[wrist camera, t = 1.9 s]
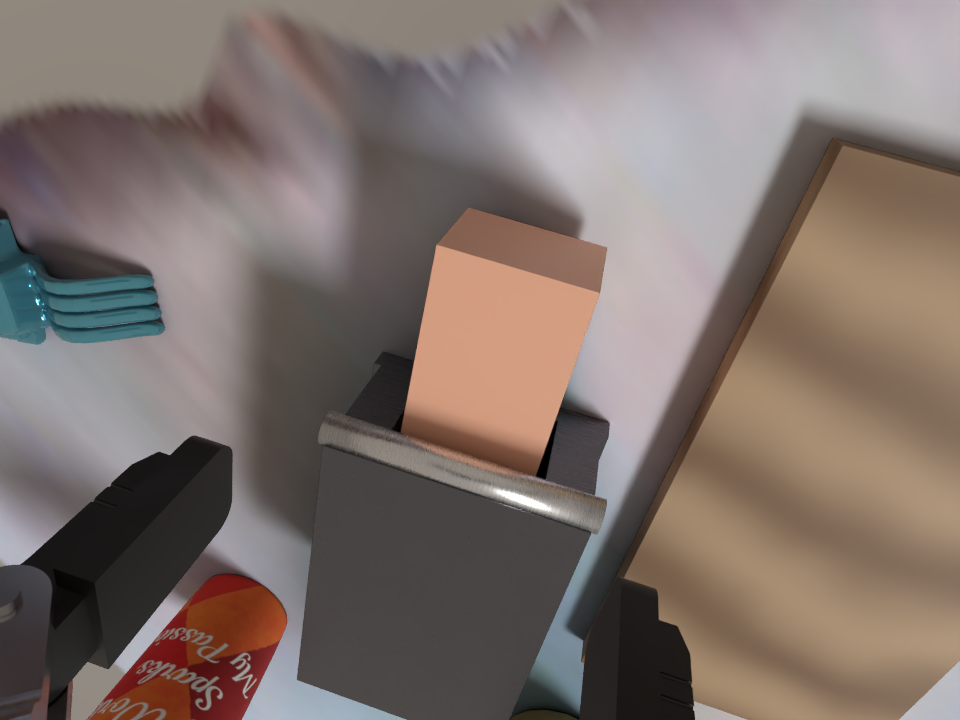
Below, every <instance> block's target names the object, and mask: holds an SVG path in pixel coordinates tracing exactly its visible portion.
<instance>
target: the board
mask: <svg viewBox="0 0 960 720" xmlns="http://www.w3.org/2000/svg"><path fill="white" fill-rule="evenodd" d="M618 576H619V577H622V578H625V579H628V580H631V581H634V582H637V583H640V584H643V585H646V586H649V587H652V588H655V589H656V590H657V592H658V607H659V620H661V621H664V622H667V623H670V624H673V625H676V626H678V628H679V630H680V632H681V635H682V637H683V639H684V641H685V643H686V646H687V648H688V650H689V652H690V657H691V671H692V684H691V687H692V688H693V700H694V701H696V702H698V703H701V704H704V705H707V706H710V707H713V708H716V709H719V710H722V711H724V712H727V713H730V714H733V715H736V716H739V717H742V718H745V719H748V720H899V719H900V718H901V717H902V716H903V715H904V714H905V713H906V712H907V711H908V710H909V709H910V708H911V707H912V706H913V705H914V704H915V703H916V702H917V701H918V700H919V699H921V698H922V697H923V696H924V695H925V694H926V693H927V692H928V691H929V690H930V689H931V688H932V687H933V686H934V685H935V684H936V683H937V682H938V681H939V680H940V679H941V678H942V677H943V676H944V675H945V674H946V673H947V672H949V671H950V670H951V669H952V668H953V667H954V666H955V665H956V664H957V663H958V662H959V661H960V172H958V171H954V170H950V169H946V168H943V167H939V166H935V165H931V164H928V163H924V162H920V161H917V160H913V159H909V158H905V157H902V156H898V155H894V154H890V153H887V152H883V151H879V150H875V149H872V148H868V147H864V146H861V145H857V144H853V143H849V142H846V141H842V140H838V139H834V138H833V139H832V141H831V143H830V145H829V147H828V149H827V151H826V153H825V155H824V157H823V159H822V161H821V163H820V165H819V167H818V169H817V171H816V173H815V175H814V177H813V179H812V181H811V183H810V185H809V187H808V189H807V191H806V193H805V195H804V197H803V199H802V201H801V203H800V205H799V207H798V209H797V211H796V213H795V215H794V217H793V219H792V221H791V223H790V225H789V227H788V229H787V231H786V233H785V235H784V237H783V239H782V241H781V243H780V246H779V248H778V250H777V252H776V254H775V256H774V258H773V260H772V262H771V264H770V266H769V268H768V270H767V272H766V274H765V276H764V278H763V280H762V282H761V284H760V286H759V288H758V290H757V292H756V294H755V296H754V298H753V300H752V302H751V304H750V306H749V308H748V310H747V312H746V314H745V316H744V318H743V320H742V322H741V324H740V326H739V328H738V330H737V332H736V334H735V336H734V338H733V340H732V342H731V344H730V346H729V348H728V350H727V352H726V354H725V357H724V359H723V361H722V363H721V365H720V367H719V369H718V371H717V373H716V375H715V377H714V379H713V381H712V383H711V385H710V387H709V389H708V391H707V393H706V395H705V397H704V399H703V401H702V403H701V405H700V407H699V409H698V411H697V413H696V415H695V417H694V419H693V421H692V423H691V425H690V427H689V429H688V431H687V433H686V435H685V437H684V439H683V441H682V443H681V445H680V447H679V449H678V451H677V453H676V455H675V457H674V459H673V461H672V463H671V465H670V468H669V470H668V472H667V474H666V476H665V478H664V480H663V482H662V484H661V486H660V488H659V490H658V492H657V494H656V496H655V498H654V500H653V502H652V504H651V506H650V508H649V510H648V512H647V514H646V516H645V518H644V520H643V522H642V524H641V526H640V528H639V530H638V532H637V534H636V536H635V538H634V540H633V542H632V544H631V546H630V548H629V550H628V552H627V554H626V556H625V558H624V560H623V562H622V564H621V566H620V568H619V570H618V572H617V574H616V576H615V579H616V578H617V577H618ZM615 579H614V581H615ZM614 581H613V583H614ZM613 583H612V585H613ZM612 585H611V587H612ZM611 587H610V589H611ZM610 589H609V591H610ZM609 591H608V593H609ZM608 593H607V595H608ZM607 595H606V597H607ZM606 597H605V599H606ZM605 599H604V601H605ZM604 601H603V603H604ZM603 603H602V605H603ZM602 605H601V607H602ZM601 607H600V609H601ZM600 609H599V611H600ZM599 611H598V613H599ZM598 613H597V615H598ZM597 615H596V617H597ZM596 617H595V619H596ZM595 619H594V621H595ZM594 621H593V623H594ZM593 623H592V625H591V627H590V629H589V631H588V633H587V635H586V637H585V639H584V641H583V649H582V659H581V662H583V663H584V661H585V653H586V647H587V642H588V638H589V634H590V631H591V628H592V626H593Z"/></svg>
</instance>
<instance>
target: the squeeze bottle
mask: <svg viewBox="0 0 960 720" xmlns="http://www.w3.org/2000/svg"><path fill="white" fill-rule="evenodd" d="M511 720H578V719H576V718H574V717H572V716H570V715H568V714H564V713H559V712H554V711H550V710H530V711H526V712H523V713H520V714H518V715H515V716H513V718H512V719H511Z"/></svg>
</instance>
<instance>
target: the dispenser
mask: <svg viewBox="0 0 960 720" xmlns="http://www.w3.org/2000/svg"><path fill="white" fill-rule="evenodd" d="M413 365H414V362H413V361H410V360H407V359H404V358H401V357H397V356H394V355H391V354H388V353H385V352H382V354H381V355H380V356H379V358H378V359H377V360H376V362H375V363H374V369H373V375H372V379H371V380H370V381H369V383H368V384H367V386H366V387H365V388H364V390H363V391H362V392H361V394H360V395H359V397H358V398H357V399H356V401H355V402H354V403H353V405H352V406H351V408H350V409H349V410H348V412H347V413H346V415H344V414H341V413H338V412H335V411H332V410H331V411H329V412H328V413H327V414H326V416H325V418H324V420H323V422H322V424H321V427H320V430H319V434H318V443H319V444H322V445H323V449H322V458H321V467H320V476H319V485H318V494H317V503H316V512H315V521H314V530H313V539H312V548H311V557H310V567H309V576H308V585H307V594H306V603H305V612H304V621H303V630H302V639H301V648H300V657H299V666H298V675H297V680H299V681H302V682H305V683H307V684H310V685H313V686H316V687H318V688H321V689H324V690H327V691H329V692H332V693H335V694H338V695H340V696H343V697H346V698H349V699H352V700H354V701H357V702H360V703H363V704H365V705H368V706H371V707H374V708H376V709H379V710H382V711H385V712H387V713H390V714H393V715H396V716H399V717H401V718H404V719H407V720H509V719H510V716H511V714H512V712H513V709H514V707H515V705H516V703H517V700H518V698H519V696H520V694H521V691H522V689H523V687H524V685H525V682H526V680H527V678H528V675H529V673H530V671H531V669H532V666H533V664H534V662H535V660H536V657H537V655H538V653H539V651H540V648H541V646H542V644H543V642H544V639H545V637H546V635H547V632H548V630H549V628H550V626H551V623H552V621H553V619H554V617H555V614H556V612H557V610H558V608H559V605H560V603H561V601H562V598H563V596H564V594H565V592H566V589H567V587H568V585H569V583H570V580H571V578H572V576H573V574H574V571H575V569H576V567H577V564H578V562H579V560H580V558H581V555H582V553H583V551H584V549H585V546H586V544H587V542H588V540H589V537H590V535H591V533H593V534H598V532H599V530H600V528H601V525H602V522H603V519H604V515H605V511H606V505H607V500H606V499H604V498H601V497H598V496H595V491H596V481H597V471H598V462H599V459H600V456H601V454H602V452H603V449H604V447H605V444H606V442H607V440H608V437H609V426H610V423H608V422H605V421H602V420H599V419H596V418H592V417H589V416H586V415H583V414H580V413H576V412H573V411H570V410H567V409H564V408H559V411H558V414H557V417H556V420H555V423H554V425H553V428H552V431H551V434H550V437H549V440H548V442H547V445H546V448H545V451H544V454H543V457H542V460H541V462H540V465H539V468H538V471H537V474H536V476H533V475H530V474H527V473H523V472H520V471H517V470H514V469H511V468H508V467H505V466H502V465H499V464H496V463H492V462H489V461H486V460H483V459H480V458H477V457H474V456H471V455H468V454H465V453H462V452H458V451H455V450H452V449H449V448H446V447H443V446H440V445H437V444H434V443H431V442H428V441H424V440H421V439H418V438H415V437H412V436H409V435H406V434H403V433H401V428H402V423H403V417H404V412H405V407H406V402H407V396H408V391H409V386H410V381H411V376H412V370H413Z"/></svg>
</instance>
